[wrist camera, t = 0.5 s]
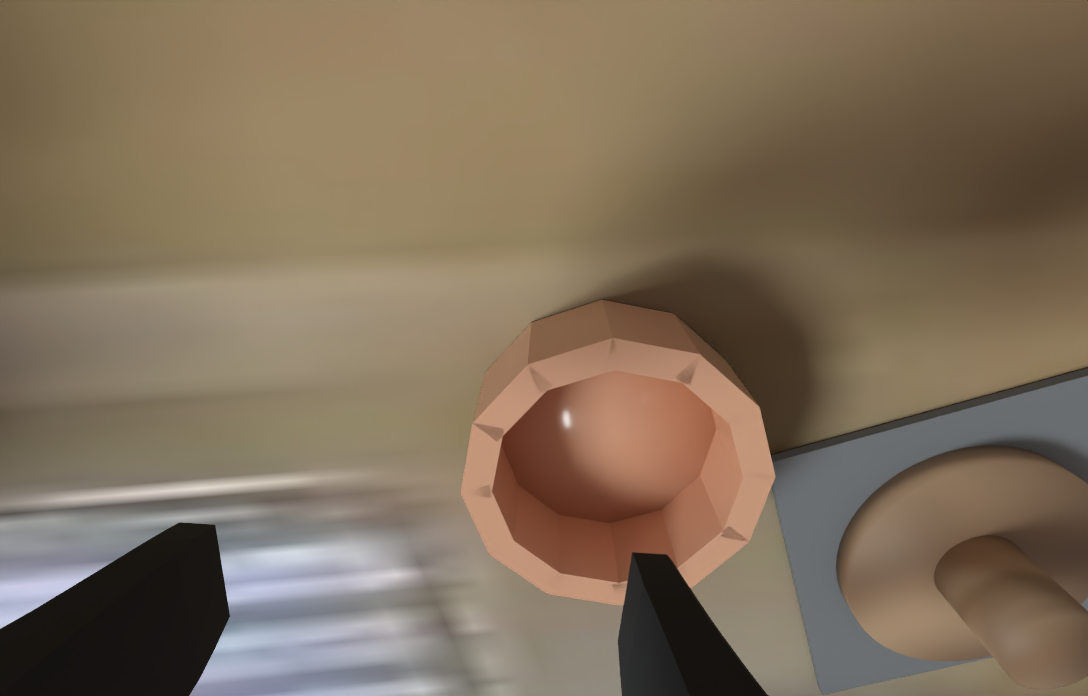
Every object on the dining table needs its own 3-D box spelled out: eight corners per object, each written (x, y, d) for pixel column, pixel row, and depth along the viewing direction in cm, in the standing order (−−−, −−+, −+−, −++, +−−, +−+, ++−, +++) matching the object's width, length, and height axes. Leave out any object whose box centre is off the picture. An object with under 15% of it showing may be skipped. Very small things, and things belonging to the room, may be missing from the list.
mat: (1118, 619, 23) (1127, 627, 23) (818, 686, 25) (822, 695, 24) (1125, 357, 19) (1137, 362, 19) (764, 456, 21) (768, 463, 20)
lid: (1087, 608, 22) (1210, 720, 18) (853, 661, 24) (918, 777, 19) (1087, 414, 19) (1235, 495, 15) (818, 485, 21) (886, 579, 16)
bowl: (757, 493, 21) (794, 561, 18) (527, 555, 22) (524, 629, 19) (701, 267, 18) (735, 299, 15) (439, 352, 19) (416, 399, 16)
